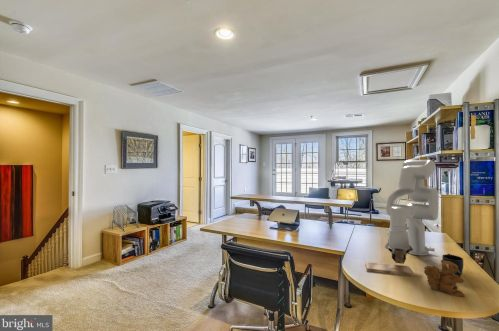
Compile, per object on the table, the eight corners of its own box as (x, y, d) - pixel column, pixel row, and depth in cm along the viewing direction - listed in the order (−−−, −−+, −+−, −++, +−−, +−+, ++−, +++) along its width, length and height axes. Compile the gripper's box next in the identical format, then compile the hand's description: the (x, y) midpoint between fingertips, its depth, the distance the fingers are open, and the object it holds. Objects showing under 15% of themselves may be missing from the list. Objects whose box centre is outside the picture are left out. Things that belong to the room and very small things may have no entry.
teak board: (409, 268, 133) (408, 266, 133) (413, 276, 125) (413, 273, 125) (365, 264, 141) (365, 261, 141) (367, 271, 132) (366, 268, 132)
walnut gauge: (402, 260, 138) (401, 248, 138) (406, 268, 128) (406, 254, 128) (394, 260, 140) (393, 248, 140) (398, 267, 130) (397, 254, 130)
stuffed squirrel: (467, 298, 103) (466, 267, 103) (427, 291, 110) (426, 262, 110) (459, 287, 112) (458, 259, 112) (423, 281, 119) (422, 255, 119)
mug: (459, 271, 128) (459, 253, 128) (465, 281, 118) (465, 261, 118) (440, 268, 132) (439, 251, 132) (444, 277, 122) (443, 258, 122)
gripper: (413, 227, 138) (414, 260, 138) (380, 226, 143) (381, 256, 143) (417, 231, 131) (418, 265, 130) (382, 229, 136) (383, 261, 136)
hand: (398, 260), depth 137 cm, fingers closed on walnut gauge, 4 cm apart
